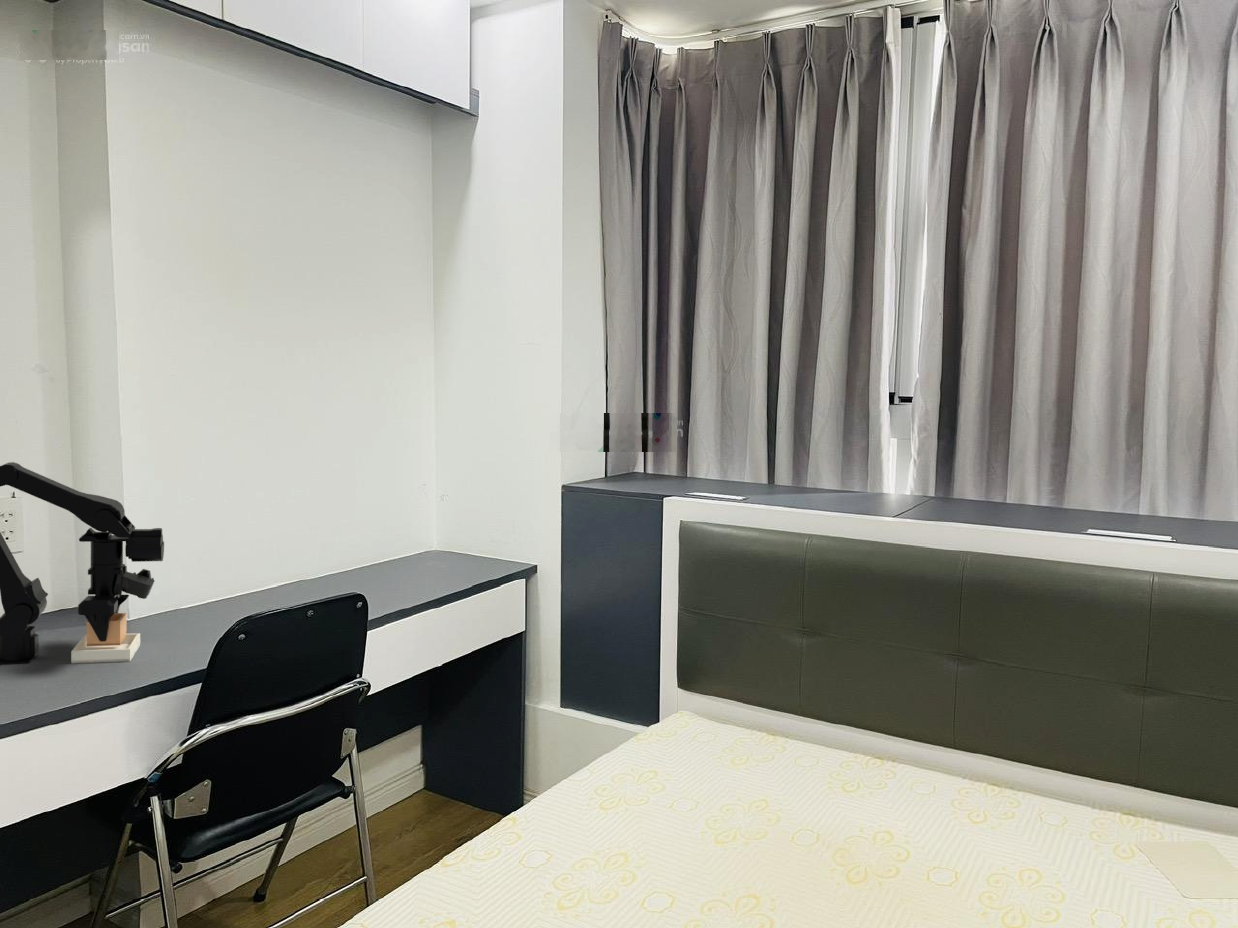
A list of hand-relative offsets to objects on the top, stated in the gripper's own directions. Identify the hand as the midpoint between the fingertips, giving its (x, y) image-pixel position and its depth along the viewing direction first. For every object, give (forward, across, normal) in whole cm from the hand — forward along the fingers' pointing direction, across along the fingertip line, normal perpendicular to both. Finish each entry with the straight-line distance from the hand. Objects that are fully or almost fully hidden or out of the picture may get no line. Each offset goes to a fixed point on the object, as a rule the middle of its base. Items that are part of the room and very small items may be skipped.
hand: (106, 636), depth 184 cm
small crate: (+1, 0, 0) cm, 1 cm away
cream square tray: (+4, 0, 0) cm, 4 cm away
